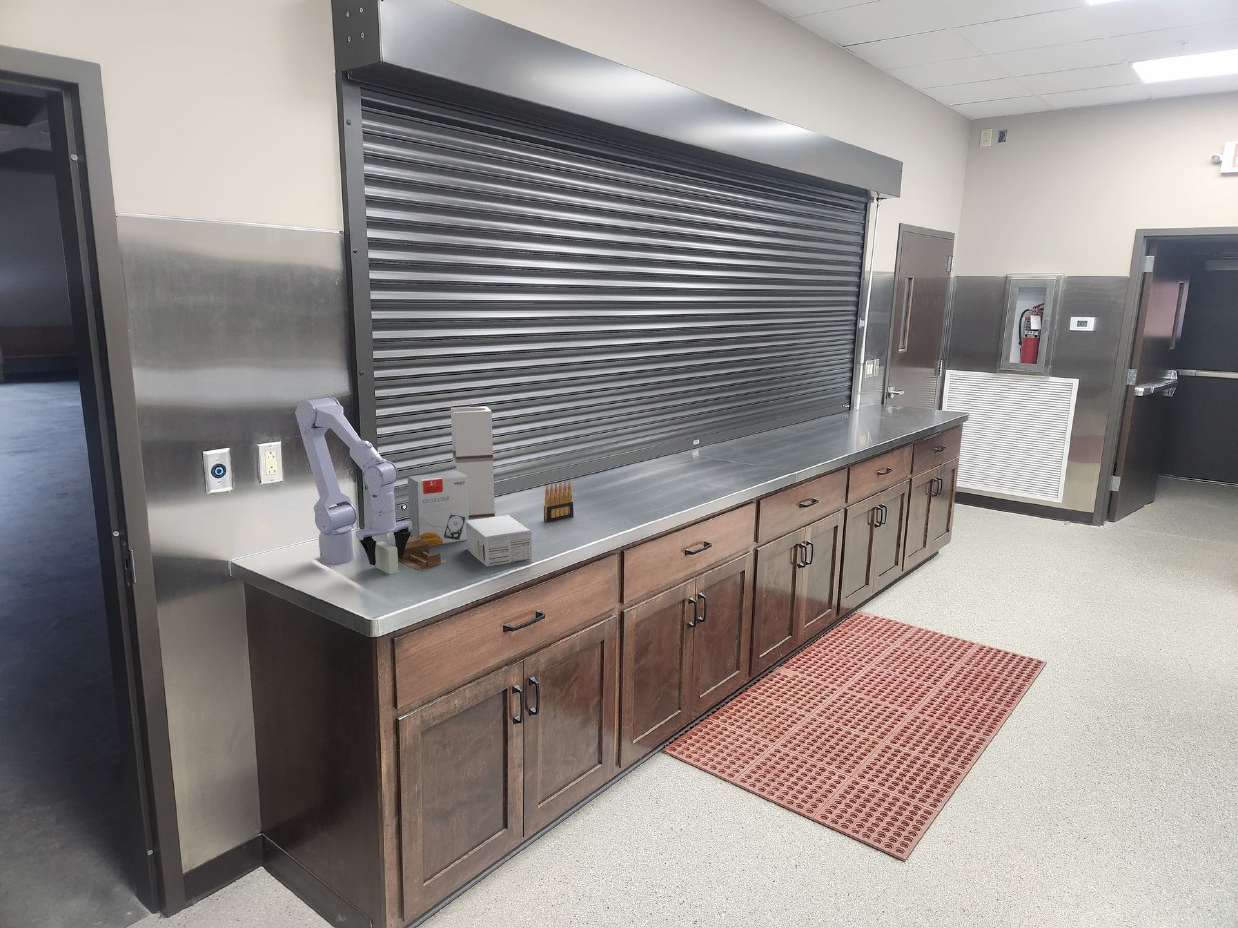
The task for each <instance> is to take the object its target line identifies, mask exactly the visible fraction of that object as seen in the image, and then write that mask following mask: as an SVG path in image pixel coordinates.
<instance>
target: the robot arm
mask: <svg viewBox="0 0 1238 928" xmlns="http://www.w3.org/2000/svg"><path fill="white" fill-rule="evenodd" d="M294 414H295V418H296V421H297V424H298V426H299V431H300V436H301V439H302V442H303V447H304V449H305V452H306V456H307V458H308V462H309V465H310V469H311V472H312V476H313V479H314V483H315V485H316V490H317V493H318V496H319V499H318V500H317V502H316V503H315V504H314V506H313V512H314V524H315V526H316V527H317V529H318V530H319V532H320V533H319V534H318V535H319V536H318V547H319V557H320V559H322V560H324V562H325V563H326V564H328V565H329V564H330V565H343V564H347V563H350V562H352V561H353V560H354V547H353V533H352V532H353V531H352V529H353V528H354V524H355V523H356V522H357V520H358V511H357V509H356V507H355V506H354V505H353V503H352V500H351V498H350V496H348V495H347V494H345V493H343V492H342V490H341V487H340V484H339V481H338V478H337V477H338V476H337V475H336V472H335V471H336V470H335V468H334V464H333V461H332V458H331V457H332V456H331V455H330V451H329V448H328V443H327V441H326V438H325V434H326V433H327V431H328V430H329V429H330V430H332V431H333V433H335V434H336V435H337V437H339V438H340V440H341V441H342V442H343V443H345V445H346V446H347V447H348V448H349V456H350V458H351V459H352V461H354V462H355V463H356V464H357V466H358V467H359V468H360V470H362V472H363V473H364V474H365V475H363V479H364V482H365V484H366V485H367V489H368V493H369V495H370V505H371V521H372V526H369V527H366V528H363V529H361V530H356V531H355V538H356V540H358V542H359V543H360V544H361V546H362V548H363V550H364V551H365V554H366V556H367V559H368V562H369V564H370V565H371V566H376V556H375V549H376V543H377V540H374V538H373V537H377V536H382V535H387V534H391V533H392V534H393V536H394V541H395V547H396V548H397V555H398V558H400V559H402V558H403V555H404V550H405V547H406V544H407V541H408V539H409V538H410V536H411V532H410V529H412V522H410V520H405V521H396V503H395V487H394V486H395V485H394V483H396V482H397V481H398V478H399V472H398V469H397V466H396V465H395V463H394V462H393V461H389V460H387V459H386V458H383V457H382V456H381V455H380V453H379V452H378V451H377V450H376V448H375V447H373V446H374V445H373V444H372V443H371V442H370V441H368V440H363V439H361V438H360V436H359V435H358V433H357V432H356V430H354V428H353V427H352V425H351V424H350V422H349V421H348V419H347V418H346V416H345V415H344V407H343V405H341V404H340V402H339V400H338V399H337V398H335V397H333V396H328V397H323V398H317V399H310V400H307V399H305V400H301V401H300V402H298V405H297V408H296V409H295V411H294ZM321 564H322V565H324V566H326V564H324V563H323V562H321ZM329 568H330V569H331V567H330V566H328V569H329Z"/></svg>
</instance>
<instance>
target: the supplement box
mask: <svg viewBox="0 0 1238 928" xmlns="http://www.w3.org/2000/svg"><path fill="white" fill-rule="evenodd" d="M466 536H467V540H466V550H467V551H468V552H469V553H471V555H472V556H473V557H475V558H476V559H477V560H478V561H479V562H481V563H482V564H483V565H484V566H485V567H492V566H498V565H505V564H510V563H511V564H512V563H517V562H523V561H526V562H528V563H532V562H533V551H532V549H533V548H532V547H533V544H532V537H533V535H532V530H531V529H530V528H528V527H527V526H526V525H524V524H522V523H521V522H519V521H518V520H517V519H515V518H513V517H512V516H511V515H510V514H504V515H497V516H496V515H495V517H489V518H482V519H474V520H468V521H466Z"/></svg>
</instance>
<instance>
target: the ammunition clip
mask: <svg viewBox="0 0 1238 928" xmlns="http://www.w3.org/2000/svg"><path fill="white" fill-rule="evenodd" d="M572 491H573V490H572V483H571V481H570V480H568V483H567V482H566V481H564V483H563V485H562V482H559V483H558V484H557V482H556V483H555V484H554V486H553V483H551V484H550V488H549V485H548V484H546V486H545V491H544V492H545V495H544V505H543V522H545V523H552V522H557V521H561V520H566V519H570V518H574V517H575V515H574V514H575V512H574V502H573V492H572Z"/></svg>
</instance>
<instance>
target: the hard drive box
mask: <svg viewBox="0 0 1238 928" xmlns="http://www.w3.org/2000/svg"><path fill="white" fill-rule="evenodd" d="M407 488H408V489H407V490H408V492H407V493H408V512H409V513H408V514H409V517H408V518H409V521H410V522H412V529H410V530H409V531H410V532H411V536H410V537H414V536H415V537H418V538H421V539H422V544H426V543H429V547H431V546H432V547H433V546H437V545H438V546H439V545H444V544H450V543H456V542H461V541H462V542H463V541H467V536H466V521H468V520H469V512H468V476H467V475H465V474H463V473H461V472H459V471H458V472H457V471H447V472H438V473H431V474H430V473H429V474H421V475H413V476H407ZM410 537H409V538H410Z"/></svg>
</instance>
